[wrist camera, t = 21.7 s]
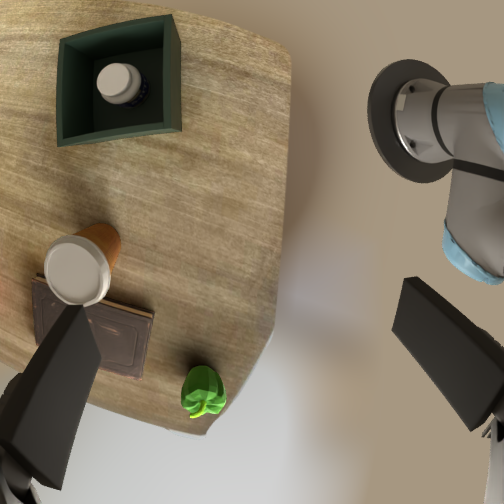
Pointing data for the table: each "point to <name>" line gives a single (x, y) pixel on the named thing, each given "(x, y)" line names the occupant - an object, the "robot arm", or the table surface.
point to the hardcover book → (101, 328)
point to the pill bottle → (123, 85)
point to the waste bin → (124, 52)
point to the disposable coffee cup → (82, 264)
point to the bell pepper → (203, 392)
